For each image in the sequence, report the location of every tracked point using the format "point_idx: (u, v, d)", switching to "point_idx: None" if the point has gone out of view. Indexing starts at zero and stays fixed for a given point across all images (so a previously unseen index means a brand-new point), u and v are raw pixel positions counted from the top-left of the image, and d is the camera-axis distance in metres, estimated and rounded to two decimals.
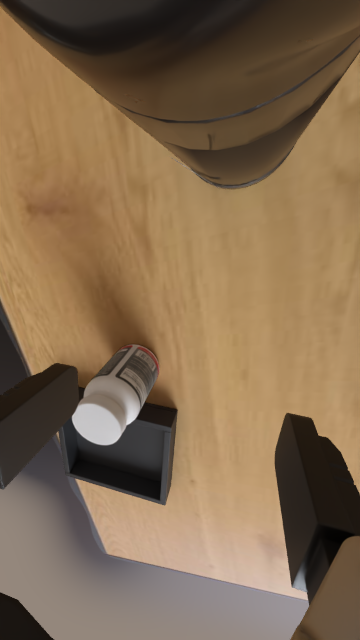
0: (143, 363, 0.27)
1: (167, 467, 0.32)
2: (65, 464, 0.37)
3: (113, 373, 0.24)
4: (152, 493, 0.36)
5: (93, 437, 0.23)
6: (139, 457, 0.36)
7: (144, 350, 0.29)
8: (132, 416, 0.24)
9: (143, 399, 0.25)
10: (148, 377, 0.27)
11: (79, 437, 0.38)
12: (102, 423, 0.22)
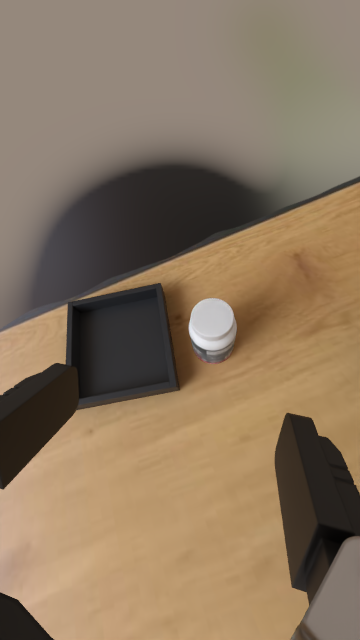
0: (232, 347, 0.33)
1: (123, 395, 0.32)
2: (83, 300, 0.39)
3: None
4: None
5: (197, 316, 0.28)
6: (106, 368, 0.36)
7: None
8: (212, 345, 0.28)
9: (218, 352, 0.30)
10: (226, 353, 0.32)
11: (109, 309, 0.40)
12: (216, 321, 0.27)
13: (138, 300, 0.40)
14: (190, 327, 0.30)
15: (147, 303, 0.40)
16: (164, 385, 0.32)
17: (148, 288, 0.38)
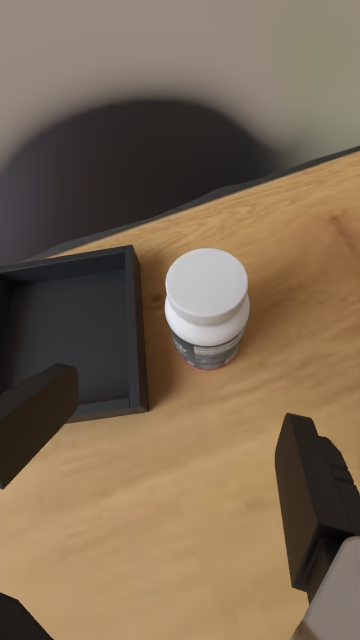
0: (239, 345, 0.20)
1: None
2: (14, 266, 0.26)
3: None
4: None
5: (178, 279, 0.14)
6: (37, 370, 0.23)
7: None
8: (204, 335, 0.15)
9: (215, 350, 0.17)
10: (228, 354, 0.19)
11: (56, 283, 0.27)
12: (214, 288, 0.14)
13: (100, 271, 0.27)
14: (167, 303, 0.17)
15: (112, 276, 0.27)
16: (120, 404, 0.19)
17: (113, 252, 0.25)
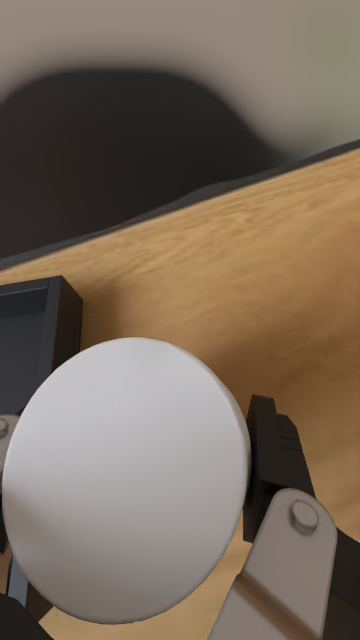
0: None
1: None
2: None
3: None
4: None
5: (42, 443, 0.05)
6: None
7: None
8: None
9: None
10: None
11: None
12: (141, 488, 0.04)
13: (19, 314, 0.18)
14: None
15: (37, 321, 0.17)
16: None
17: (30, 287, 0.16)
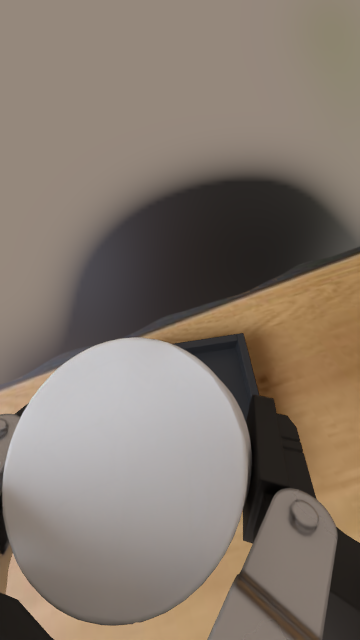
0: None
1: None
2: None
3: None
4: None
5: (42, 444, 0.05)
6: None
7: None
8: None
9: None
10: None
11: None
12: (141, 488, 0.04)
13: (207, 352, 0.30)
14: None
15: (219, 356, 0.30)
16: None
17: (227, 340, 0.28)
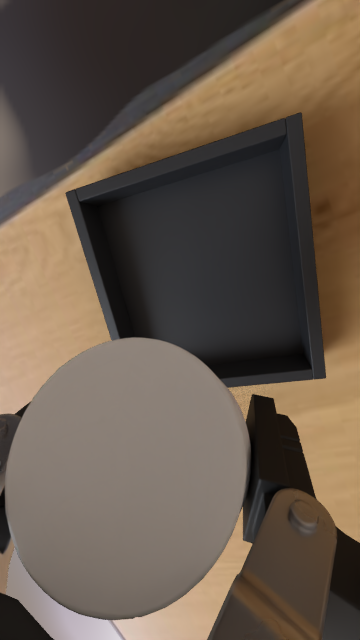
0: None
1: None
2: (99, 186, 0.16)
3: None
4: None
5: (44, 442, 0.05)
6: (177, 322, 0.21)
7: None
8: None
9: None
10: None
11: (158, 195, 0.18)
12: (141, 486, 0.05)
13: (225, 166, 0.17)
14: None
15: (247, 172, 0.17)
16: (301, 375, 0.17)
17: (265, 137, 0.14)
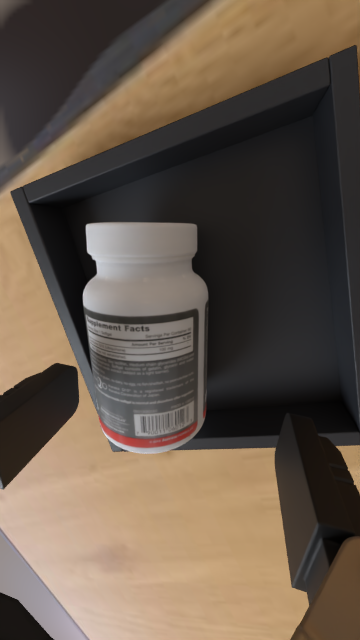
0: (168, 401, 0.11)
1: (233, 446, 0.14)
2: (54, 181, 0.12)
3: (201, 315, 0.11)
4: None
5: None
6: None
7: (184, 434, 0.12)
8: (96, 286, 0.10)
9: (105, 336, 0.10)
10: (134, 387, 0.10)
11: (139, 190, 0.13)
12: None
13: (232, 145, 0.12)
14: None
15: (263, 153, 0.12)
16: (344, 439, 0.12)
17: (294, 92, 0.09)
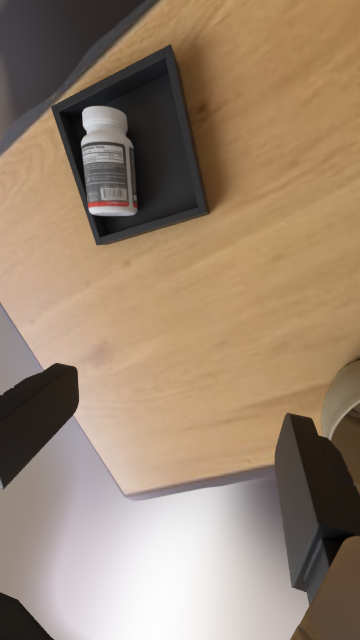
0: (114, 183, 0.27)
1: (150, 228, 0.31)
2: (70, 100, 0.28)
3: (127, 150, 0.27)
4: (99, 227, 0.33)
5: None
6: None
7: (122, 204, 0.28)
8: (86, 135, 0.27)
9: (89, 153, 0.27)
10: (100, 175, 0.27)
11: None
12: None
13: (143, 85, 0.28)
14: None
15: (155, 89, 0.28)
16: (192, 212, 0.29)
17: (154, 60, 0.25)
